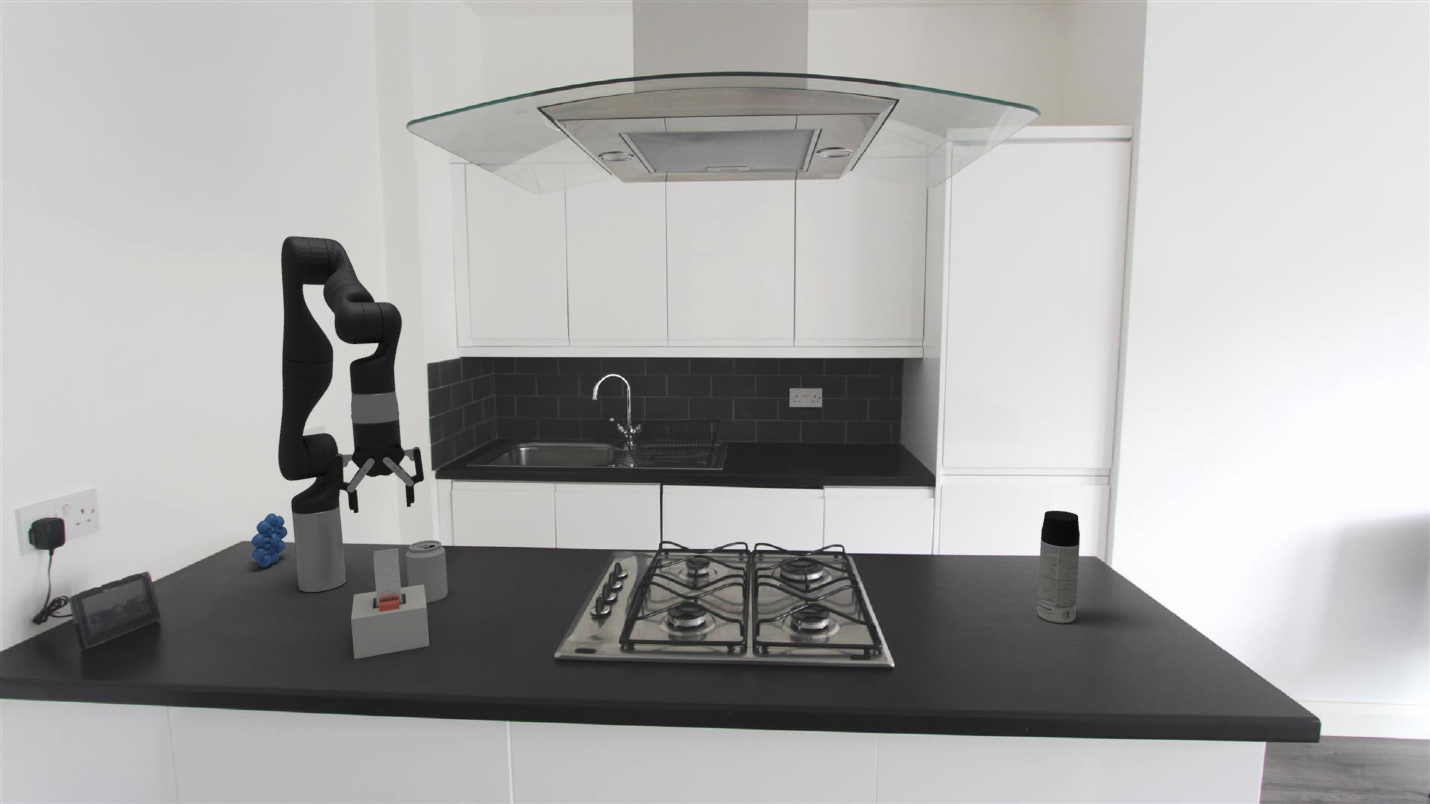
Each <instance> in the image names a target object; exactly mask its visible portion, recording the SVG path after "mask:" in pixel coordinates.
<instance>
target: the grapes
mask: <svg viewBox="0 0 1430 804" xmlns="http://www.w3.org/2000/svg"><path fill="white" fill-rule="evenodd" d="M285 523H286V521H285V519H284V517H283V516H281V515H276V514H275V513H268V515H266V516H265V518H264V519H263V520H261V521H259V522H258V523H257V525H256V526H255V527H256V531H257V532H258V533H256V534H255V535H253V537H252V538H251V543H252V546H254V547H255V549H254V550H253V551H252V553H251V554H252V555H251V556H252V558H253V560H254V561H257V564H258V565H259V566H260V568H267V566H269V565H274V564H276V563H277V562H278V560H279V559H280V555H279V554H280V553H282V552H283V551H284V550H285V548H286V547H287V546H286V543H285V541H284V539H285V538H286V536H287V535H288V533H289V531H288V530H287V528H286V527H285V526H284V524H285Z"/></svg>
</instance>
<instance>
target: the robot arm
mask: <svg viewBox="0 0 1430 804" xmlns="http://www.w3.org/2000/svg"><path fill="white" fill-rule="evenodd" d="M280 251H281V253H280V256H281V257H280V264H281V266H280V267H281V284H282V285H281V286H282V299H283V304H282V305H283V329H282V330H283V331H282V332H283V333H282V350H281V351H282V352H281V353H282V354H281V355H282V356H281V379H282V380H281V383H282V404H281V405H282V406H281V407H282V408H281V409H282V410H281V420H280V428H279V436H278V437H279V439H278V447H277V448H278V449H277V459H278V467H279V471H280V474H281V476H282V478H283V479H285V480H286V481H290V482H295V481H301V480H303V481H304V480H310V479H315V480H314V481H313V483H312V484H311V485H310V486H309V487H308V488H305V489H304V490H303V491H301V492H299V493H298V494H296V495H295V496H293V497H292V499H291V501H290V502H291V503H290V506H291V508H290V509H291V515H292V517H291V519H292V528H293V539H294V549H295V560H296V572H297V574H296V575H297V582H298V584H297V585H298V590H300V591H302V592H305V593H317V592H324V591H325V592H326V591H330V590H333V589H336V588H339V587H341V586H343V585H344V584H345V583H346V582H347V581H346V579H347V578H346V576H347V575H346V567H345V566H346V565H345V552H344V541H343V529H342V528H343V527H342V519H341V517H342V516H341V505H340V495H341V491H344V492H346V493H347V500H348V509H349V510H350V511H353V514H358V513H359V499H358V490H357V489H356V488H357V487H358V486H359V485H360V483H362V481H363V479H364V478H365V477H369V478H375V477H379V476H382V477H383V476H385V477H388V476H390V475H392V474H395V476H396V477H398V479H400V480H401V481H402V482H403V483H404V484H405V485H404V486H405V498H406V508H411V507H412V504H414V503H415V499H416V498H415V485H416V484H418V483H421V482H424V480H425V475H424V468H423V461H422V460H423V459H422V454H421V453H422V452H421V449H420V447H419V446H414V447H413V448H409V449H408V448H407V449H404V448H403V447H402V439H401V438H402V437H401V436H402V435H401V426H400V425H401V422H400V411H399V410H400V409H399V402H398V397H397V392H396V391H397V390H396V378H395V363H396V358H397V357H396V356H397V355H396V354H397V351H398V345H399V341H400V337H401V333H402V329H403V328H402V327H403V319H402V315H401V313H400V311H399V309H398V307H397V306H396V305H395V304H393V303H391V302H387V301H384V302H383V301H379V302H378V301H376V300H375V299H374V297H373V295H372V294H371V293H370V292H369V290H368V289H367V288H366V287H365V286H364V285H363V284H362V282H361V281H360V280H359V279H358V276H357V274H356V271H355V269H354V266H353V263H352V262H351V260H350V257H349V255H348V253H347V251H346V249H345V247H344V246H343V244H342V243H341V242H340V241H338V240H335V239H333V238H325V237H310V236H297V235H296V236H295V235H291V236H290V235H289V236H287V237H286V238H284V240H283V243H282V245H281V250H280ZM305 285H310V286H323V289H322V295H323V299H324V301H325V303H326V305H327V307H328V308H329V309H330V311H331V312H332V313H333V315H334V321H333V323H334V331H335V334H336V336H337V338H338V339H340V340H341V341H342V342H344V343H345V344H346V343H347V344H349V345H368V344H370V345H371V344H377V347H376V349H375V350H374V352H373V353H371V354H370V355H367V356H364V357H361V358H357V359H354V360H352V361H351V362H350V364H349V379H350V381H349V382H350V392H351V399H350V401H351V403H350V412H351V414H350V419H351V422H352V424H351V425H352V436H353V438H352V439H353V453H352V454H348V453H347V454H342V453H340V452H339V448H338V444H337V441H336V439H335V437H334V436H333V435H332V434H331V433H326V432H322V433H313V434H306V435H305V434H304V431H305V427H306V423H307V421H308V419H309V417H310V415H311V413H312V412H313V410H314V408H315V407H316V406H317V405H318V404H319V402H320V400H321V399H322V398H323V397H324V394H325V393H326V392H327V391H328V389H329V387H330V386H331V385H330V384H331V383H332V381H333V378H334V377H333V375H334V373H333V372H334V349H333V348H334V347H333V345H332V343H331V340H330V339H329V338H328V336H327V334H326V333H325V331H324V330H323V329H322V327H321V326H320V324H319V323H318V322H317V321H316V319H315V318H314V316H313V313H312V312H311V311H310V309H309V307H308V303H307V302H306V300H305V294H304V286H305ZM405 457H408V459H409V461H411V462H413V463H414V469H415V474H414V475H412V476H411V475H410V474H409V473H408V472H407V471H406V470H405V468H403V467H402V465H401V463H402V461H403V460H404V458H405ZM351 461H352V463H353V464H354V465H356V467H358V469H357V471H356V473H355V474H354V476H353V477H352V479H351V480H350V481H344V480H345V479H344V478H345V477H344V476H345V475H344V468H347V467H348V465H349V462H351Z"/></svg>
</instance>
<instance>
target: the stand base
mask: <svg viewBox="0 0 1430 804" xmlns="http://www.w3.org/2000/svg"><path fill="white" fill-rule="evenodd" d="M401 595H403V604H401V605H399V600H392V601H386V602H379V608H376V599H377V597H376V591H369V592H363V593H357V594H353V599H352V600H353V602H352V608H351V610H352V611H351V617H350V621H351V622H350V623H351V633H352V647H353V658H354V660H356V659H357V660H358V659H362V658H363V659H364V658H368V657H374V656H380V655H385V654H386V655H387V654H391V653H397V652H403V651H409V650H415V649H420V648H425V647H426V648H427V647H430V639H429V638H430V636H429V622H428V608H427V603H426V598H425V590H424V585H417V586H410V587H408V586H404V587H403V586H402V587H401Z"/></svg>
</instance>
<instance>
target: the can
mask: <svg viewBox="0 0 1430 804" xmlns="http://www.w3.org/2000/svg"><path fill="white" fill-rule="evenodd" d="M405 557H406V559H405V560H406V561H405V562H406V571H407V572H406V573H407V574H406V575H407V587H410V586H417V585H424V590H425V598H426V604H428V603H433V602H438V601H439V600H442V599H444V598H446V597H448V592H449V591H448V589H449V588H448V575H447V561H446V548H444V547H443V546H442V542H441V541H440V540H435V539H434V540H433V539H428V540H422V541H421V540H419V541H416V542H414V543H411V544H410V545H409V546H408V550H407V552H406V554H405Z"/></svg>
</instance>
